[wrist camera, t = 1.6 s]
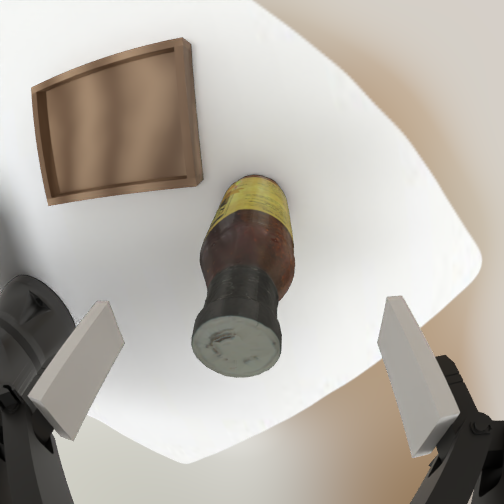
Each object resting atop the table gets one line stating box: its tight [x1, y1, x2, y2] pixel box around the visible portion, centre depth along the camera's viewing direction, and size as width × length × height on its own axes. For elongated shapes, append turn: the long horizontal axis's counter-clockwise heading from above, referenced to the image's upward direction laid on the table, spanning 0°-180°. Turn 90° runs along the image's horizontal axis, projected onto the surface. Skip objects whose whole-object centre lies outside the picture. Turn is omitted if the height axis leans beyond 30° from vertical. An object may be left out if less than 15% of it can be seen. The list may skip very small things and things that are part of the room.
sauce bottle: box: [191, 175, 295, 378], centre depth 22 cm, size 7×6×20 cm
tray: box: [31, 37, 203, 206], centre depth 26 cm, size 18×14×3 cm
